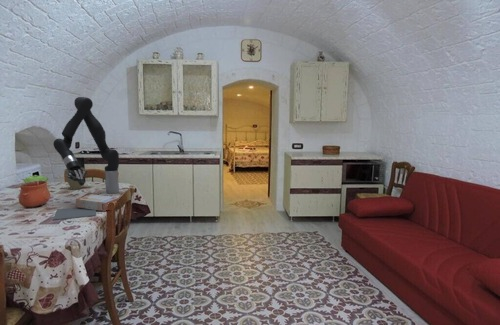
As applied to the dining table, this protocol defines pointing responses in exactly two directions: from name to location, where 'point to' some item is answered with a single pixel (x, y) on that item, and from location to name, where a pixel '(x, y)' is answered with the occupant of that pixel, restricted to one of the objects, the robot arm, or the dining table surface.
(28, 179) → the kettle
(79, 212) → the rubber mat
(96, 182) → the dining table surface
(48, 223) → the dining table surface
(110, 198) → the cracker box
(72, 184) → the plant pot
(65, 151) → the robot arm
